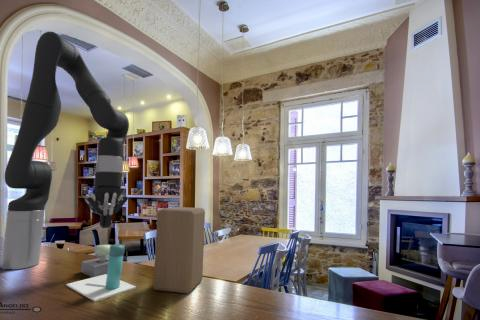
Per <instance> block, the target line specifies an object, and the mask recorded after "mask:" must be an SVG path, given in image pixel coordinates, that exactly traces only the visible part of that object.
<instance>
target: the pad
mask: <svg viewBox="0 0 480 320" xmlns="http://www.w3.org/2000/svg"><path fill="white" fill-rule="evenodd" d="M106 278H107V274H104V275H100V276H96V277H89V278H85V279H82V280H77V281H74V282H70V283H66V287H67V288H69V289H71V290H73V291H75V292H77V293H78V294H80V295H82V296H84V297H85V298H87V299H89V300H90V301H93V302H99V301H101V300H104V299H106V298H107V299H108V298H111V297H114V296H117V295H119V294H123V293H126V292H129V291H132V290H135V289H137V286H136V285H133V284H131V283H128V282H126V281H123V280H121V279H120V287H119V288H117V289H114V290H108V289H106V288H105V286H106Z"/></svg>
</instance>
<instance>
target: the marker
mask: <svg viewBox="0 0 480 320" xmlns="http://www.w3.org/2000/svg"><path fill="white" fill-rule="evenodd" d="M110 245H111V246H110V251H109V255H108V256H109V263H108V270H107V278H106V286H105V288H106V289H108V290H114V289H117V288H119V287H120V280H121V277H122V270H123V262H124V261H123V260H124V255H125V249H126V248H125V247H126V245H125V244H117V243H116V244H110Z"/></svg>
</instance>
